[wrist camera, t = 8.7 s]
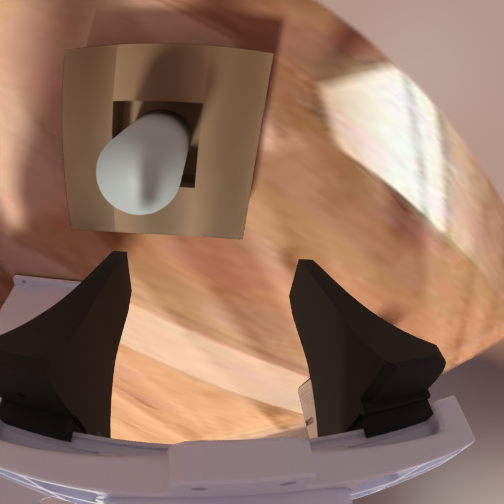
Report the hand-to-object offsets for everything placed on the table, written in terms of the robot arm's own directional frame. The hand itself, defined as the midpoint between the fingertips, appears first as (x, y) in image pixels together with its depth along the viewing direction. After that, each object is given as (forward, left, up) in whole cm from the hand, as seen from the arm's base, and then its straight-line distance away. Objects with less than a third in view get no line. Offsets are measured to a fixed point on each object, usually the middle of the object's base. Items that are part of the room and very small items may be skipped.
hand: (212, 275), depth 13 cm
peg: (-4, +3, -10) cm, 11 cm away
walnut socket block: (-4, +3, -10) cm, 12 cm away
